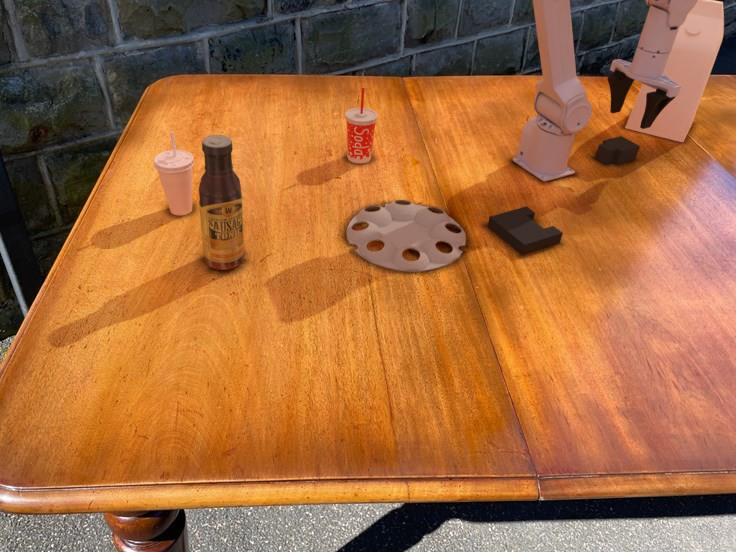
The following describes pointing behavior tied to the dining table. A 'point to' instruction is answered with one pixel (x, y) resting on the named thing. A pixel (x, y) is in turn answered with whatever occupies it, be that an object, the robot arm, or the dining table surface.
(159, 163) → the smoothie
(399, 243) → the paint palette
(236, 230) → the sauce bottle
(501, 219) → the black pad
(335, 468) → the dining table surface
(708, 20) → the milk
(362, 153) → the beverage cup
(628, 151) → the black notched block
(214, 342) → the dining table surface
